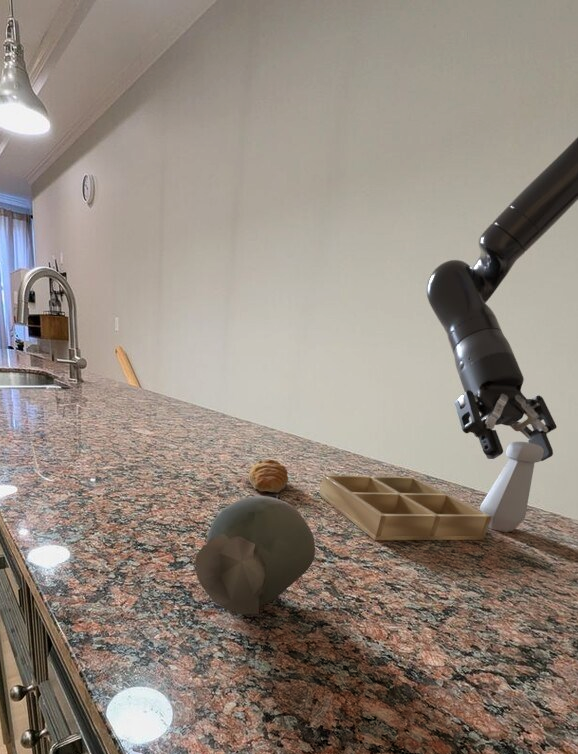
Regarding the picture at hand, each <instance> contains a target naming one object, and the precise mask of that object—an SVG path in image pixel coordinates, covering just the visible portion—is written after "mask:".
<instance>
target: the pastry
mask: <svg viewBox="0 0 578 754" xmlns="http://www.w3.org/2000/svg"><path fill="white" fill-rule="evenodd" d="M247 475H248V476H247V477H248V481H249V484H250V485H251V486H252V487H253V488H254V490H257V491H258V492H271V493H276V494H277V493H278V494H279V493H280V492H281V491H283V490H284V489H286V485H287V484H288V481H289V476H288V470H287V468H286V467H285V466H284V465H281V463H280V462H279V461H276V460H275V459H270V458H269V459H264V460H258V462H256V463H253V466H252V467H251V468H250V470H249V472H248V474H247Z"/></svg>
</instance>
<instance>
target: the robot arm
mask: <svg viewBox="0 0 578 754" xmlns="http://www.w3.org/2000/svg"><path fill="white" fill-rule="evenodd" d="M577 201H578V136H577V137H576V138H575V139H574V140H573V141H572V142H571V143H570V144H569V146H567V147H566V148H565V149H564V150H563V151H562V152H561V153H560V154H559V155H558V156H557V157H556V158H555V159H554V160H553V161H552V162H551V163H550V164H549V165H548V166H547V167H546V168H545V169H544V170H542V171H541V173H539V174H538V175H537V176H536V177H535V178H534V179H533V180H532V181H531V182H530V183H529V184H528V185H527V186H526V187H525V188H523V190H522V191H521V192H520V193H519V194H518V195H517V196H516V197H515V198H514V199H513V200H512V201H511V202H510V203H509V204H508V206H506V207H505V209H504V210H503V211H502V212H501V213H500V214H499V215H498V216H497V217H496V218H495V219H494V220H493V221H492V223H490V224H489V225H488V227H487V228H486V229H485V230H483V232H482V234H481V235H480V237H479V238H478V242H477V243H478V249H479V253H480V254H479V257H478V258H477V260H476V262H475V263H474V265H473V267H471V265H470V264H468V263H467V262H465V261H463V260H459V259H450V260H447V261H444V262H443V263H441V264H439V265H438V266H437V267H436V268H435V269H434V270H433V271H432V272H431V274H430V276H429V277H428V280H427V284H426V297H427V300H428V304H429V306H430V307H431V309H432V311H433V312H434V314H435V316H436V318H437V319H438V321H439V323H440V324H441V326H442V327H443V329H444V331H445V333H446V335H447V339H448V343H449V346H450V348H451V352H452V354H453V357H454V358H453V359H454V364H455V365H454V366H455V369H456V371H457V374H458V377H459V380H460V382H461V385H462V388H463V391H464V393H462V394H461V395H459V397H458V398H457V399H455V401H454V404H455V408H456V413H457V415H458V420H459V423H460V426H461V430H462V432H463V433H465V434H469V433H472V434H473V435H474V437H476V438H478V440H479V443H480V446H481V448H482V452H483V453H484V455H485V456H486V458H487V459H488V460H495V459H497V458H498V457H500V456H501V455H503V454H504V448H503V446H502V442H501V440H500V437H499V434H498V433H497V430H496V429H494V428H495V426H499V425H503V426H507V427H511V428H512V430H513V431H514V432H520V433H521V434H523V435H524V436H525V437H526V439H528V440H527V442H528V443H533V444H537V445H539V446H541V447H542V448H543V449H544V454H543V457H542V459H541V460H540V462H543V461H546V460H547V459H549V458H551V457H552V456H553V455H554V449H553V447H552V445H551V442H550V440H549V437H548V433H550V432H552V431H554V430H555V429H557V424H556V421H555V420H554V418H553V416H552V413H551V411H550V410H549V408H548V406H547V403H546V401H545V399H544V397H543V396H541V395H536V396H535V397H534V398H527V397H526V396H525V395H524V394H523V392H522V386H523V384H524V381H525V379H524V375H523V372H522V371H521V370H522V369H521V368H520V365H519V363H518V361H517V359H516V356H515V354H514V351H513V349H512V346H511V344H510V342H509V341H508V339H507V338H506V336H505V335H504V332H503V330H502V328H501V325H500V323H499V321H498V319H497V317H496V314H495V312H494V311H493V310H492V308H491V307H490V306H489V305H488V304H487V302H488V301H489V299H490V298H491V297H492V296H493V294H494V293H495V292H496V290H497V289H498V288H499V286H501V283H502V282H503V281H504V280H505V278H506V277H507V276H508V274H509V272H510V271H511V269H512V267H513V266H514V265H515V263H516V262H517V261H518V259H520V258H521V257H522V256H523V255H524V254H525V252H527V251H528V250H529V249H531V247H533V245H534V244H535V243H537V241H539V240H540V239H541V238H542V236H544V235H545V234H546V233H547V232H548V231H549V230H550V229H551V228H552V227H553V226H554V225H555V224H556V223H557V222H558V221H559V220H560V219H561V218H562V217H563V216H564V215H565V214H566V213H567V212H568V211H569V209H570V208H571V207H573V206H574V204H575V203H576V202H577ZM524 415H525V416H526V417H527V418H526V419H524V420H522V419H523V417H524ZM470 419H471V420H470ZM521 420H522V421H521ZM542 421H543V422H544V423H543V422H542ZM529 425H531V428H532V429H533V430H532V429H530V428H529Z"/></svg>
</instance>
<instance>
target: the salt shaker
mask: <svg viewBox="0 0 578 754" xmlns="http://www.w3.org/2000/svg"><path fill="white" fill-rule="evenodd" d="M543 454H544V449H543V448H542V447H541V446H539V445H537V444H533V443H529V442H528V441H513V442H511V443H509V445H507V448H506V451H505V455H506V457H507V458H509V459H508V461H507V462H506V464H505V466H504V467H503V468H502V470H501V472H500V473H499V475H498V477H497V478H496V480H495V481H494V482H493V483H494V484H492V486H491V487H490V490H489V491H488V493H487V495H486V496H485V497H484V499H483V501H482V503H481V504H480V505H479V510H480V511H482V512H484V513H486V514H488V515H490V516H492V518H491V520H490V523H489V526H488V529H491V530H494V531H499V532H503V533H509V532H513V531H514V530H516V528H518V526H520V525H521V524H522V523H523V522H524V520H525V519H526V515H527V509H528V504H529V497H530V492H531V487H532V486H531V485H532V480H533V475H534V474H533V473H534V469H535V463H540V462H541V461H540V460H541V459H542V457H543Z"/></svg>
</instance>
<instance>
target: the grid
mask: <svg viewBox="0 0 578 754" xmlns="http://www.w3.org/2000/svg"><path fill="white" fill-rule="evenodd" d="M321 479H322V480H321V484H320V489H319V493H318V495H319V496H320V497H321V498H322V499H323V500H325V501H326V502H327V503H328V504H329V505H331V506H332V507H333V508H335V509H336V510H337V511H338V512H340V514H342V515H343V516H344V517H345V518H347V520H349V521H350V522H352V523H353V524H354V525H355V526H357V527H358V528H359V529H360V530H362V531H363V532H364V533H365V534H366V535H367V536H369V537H370V538H372V539H373V541H472V540H473V541H478V540H479V541H481V540H482V541H483V540H484V539H485V537H486V534H487V531H488V529H489V528H488V526H489V523H490V520H491V518H492V516H490V515H488V514H486V513H484V512H482V511H480V509H478V508H477V507H474V506H472V505H470V504H468V503H466V502H464V501H462V500H460V499H458V498H456V497H454V496H452V495H450V494H448V493H446V492H444V491H443V490H441V489H439V488H437V487H434V486H432V485H431V484H429V483H427V482H425V481H423V480H421V479H419V478H417V477H413V476H382V475H380V476H379V475H345V474H344V475H341V474H340V475H339V474H323V475H322V478H321Z"/></svg>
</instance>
